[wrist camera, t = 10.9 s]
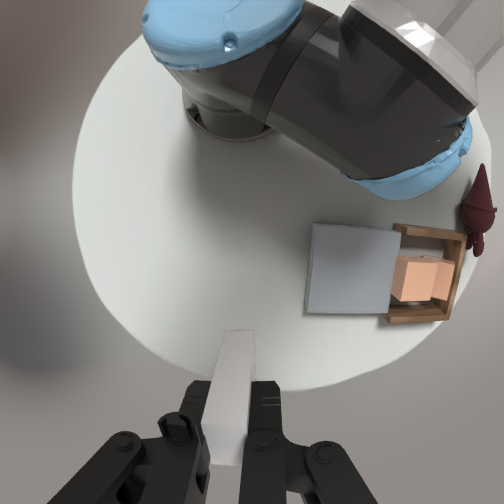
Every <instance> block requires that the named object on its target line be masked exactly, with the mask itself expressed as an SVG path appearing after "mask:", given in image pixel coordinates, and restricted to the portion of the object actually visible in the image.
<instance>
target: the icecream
mask: <svg viewBox="0 0 504 504" xmlns="http://www.w3.org/2000/svg"><path fill="white" fill-rule="evenodd" d="M461 203H462V205H463V206H462V213H461V217H462V219H463V222H464V224H465V226H464V228H465V230H466V232H467V240H466V247H465V249H467V250H469V249H471V248H472V246H473V254H474V256H475V257H478V256H480V255H481V254H482V252H483V249H484V242H483V233H485V232H487V231H488V230H489V229H490V228H491V226H492V225H493V222H494V219H495V212H497V208H493V206H492V200H491V194H490V189H489V184H488V179H487V174H486V170H485V166H484V164H483V163H481V165H480V168H479V170H478V173H477V176H476V178H475V181H474V183H473V186H472V188H471V191H470V193H469V195H468V197H467V200H465V201H461Z"/></svg>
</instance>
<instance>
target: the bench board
mask: <svg viewBox="0 0 504 504" xmlns="http://www.w3.org/2000/svg"><path fill="white" fill-rule="evenodd" d="M401 235H402V233H400V232H398V231H395V230H390V229H380V228H369V227H358V226H347V225H335V224H322V223H313V224H312V235H311V246H310V257H309V267H308V276H307V285H306V293H305V301H304V305H305V308H306V311H307V313H388V308H389V304H390V299H391V295H392V294H391V293H390V292H391V287H392V282H393V276H394V271H395V265H396V259H397V256H399V249H400V242H401Z"/></svg>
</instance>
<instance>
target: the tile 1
mask: <svg viewBox="0 0 504 504" xmlns="http://www.w3.org/2000/svg"><path fill="white" fill-rule="evenodd" d="M437 266H438V263H436V262H434V261H432V260H430V259H428V258H421V257H404V256H397V259H396V265H395V271H394V276H393V282H392V287H391V292H390V293H391V294H392V295H393V296H394V297H396V298H397V299H398V300H399V301H428V300H430V298H431V294H432V290H433V286H434V281H435V276H436V271H437Z"/></svg>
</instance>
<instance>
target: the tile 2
mask: <svg viewBox="0 0 504 504" xmlns="http://www.w3.org/2000/svg"><path fill="white" fill-rule="evenodd" d="M423 258H428V259H430V260H432V261H434V262H436V263H438V266H437V271H436V276H435V281H434V286H433V290H432V294H431V297H434V298H438V299H442V300H446V301H447V298H448V294H449V290H450V286H451V281H452V277H453V272H454V267H455V261H450V260H446V259H441V258H436V257H432V256H427V255H424V256H423Z"/></svg>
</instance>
